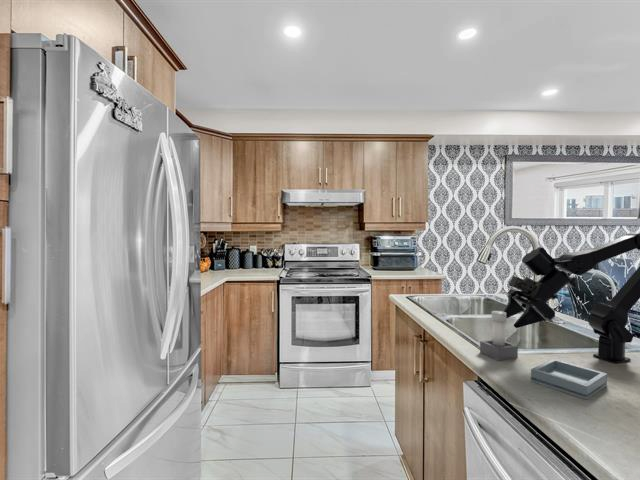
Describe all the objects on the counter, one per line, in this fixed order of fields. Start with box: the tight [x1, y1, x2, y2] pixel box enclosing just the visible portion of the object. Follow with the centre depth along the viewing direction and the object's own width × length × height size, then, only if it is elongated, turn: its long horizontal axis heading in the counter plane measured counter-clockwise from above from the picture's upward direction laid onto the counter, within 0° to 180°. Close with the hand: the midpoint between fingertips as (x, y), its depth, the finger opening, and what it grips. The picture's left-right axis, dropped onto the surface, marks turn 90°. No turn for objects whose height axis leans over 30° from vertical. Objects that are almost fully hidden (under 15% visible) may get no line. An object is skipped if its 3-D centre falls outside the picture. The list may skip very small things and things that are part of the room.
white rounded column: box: [491, 310, 507, 347], centre depth 108 cm, size 4×4×13 cm
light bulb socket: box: [479, 339, 519, 361], centre depth 109 cm, size 7×7×4 cm
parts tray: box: [530, 358, 608, 400], centre depth 89 cm, size 12×12×3 cm
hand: (508, 322), depth 108 cm, fingers open, 9 cm apart
